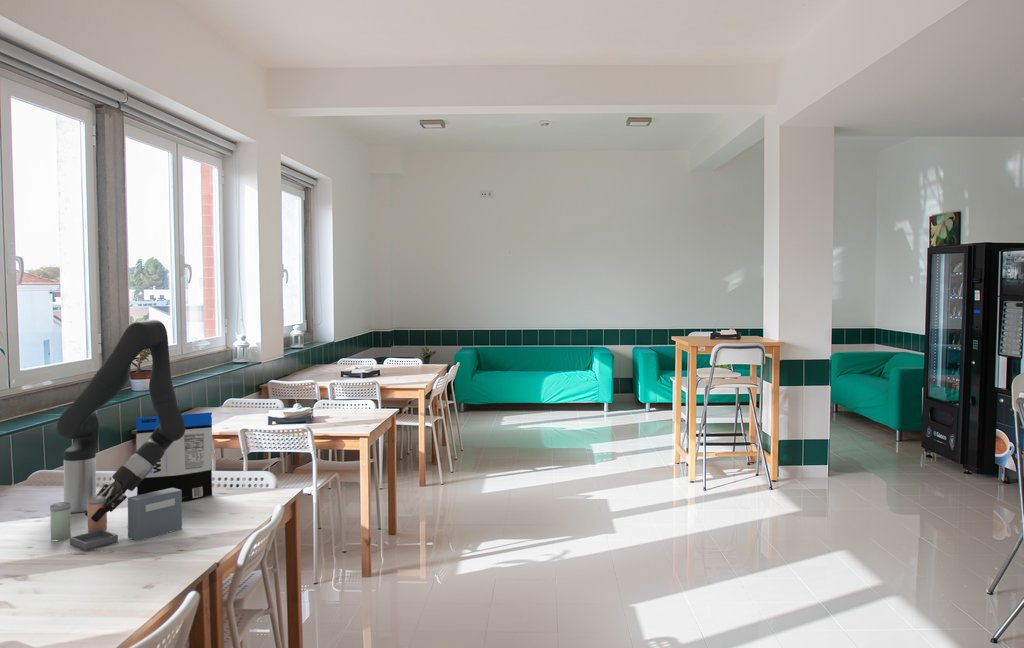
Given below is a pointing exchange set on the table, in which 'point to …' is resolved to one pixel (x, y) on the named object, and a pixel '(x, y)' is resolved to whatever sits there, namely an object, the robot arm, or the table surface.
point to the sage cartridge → (60, 521)
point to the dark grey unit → (154, 513)
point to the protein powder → (181, 458)
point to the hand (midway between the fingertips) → (90, 518)
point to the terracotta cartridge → (93, 506)
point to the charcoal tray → (93, 540)
